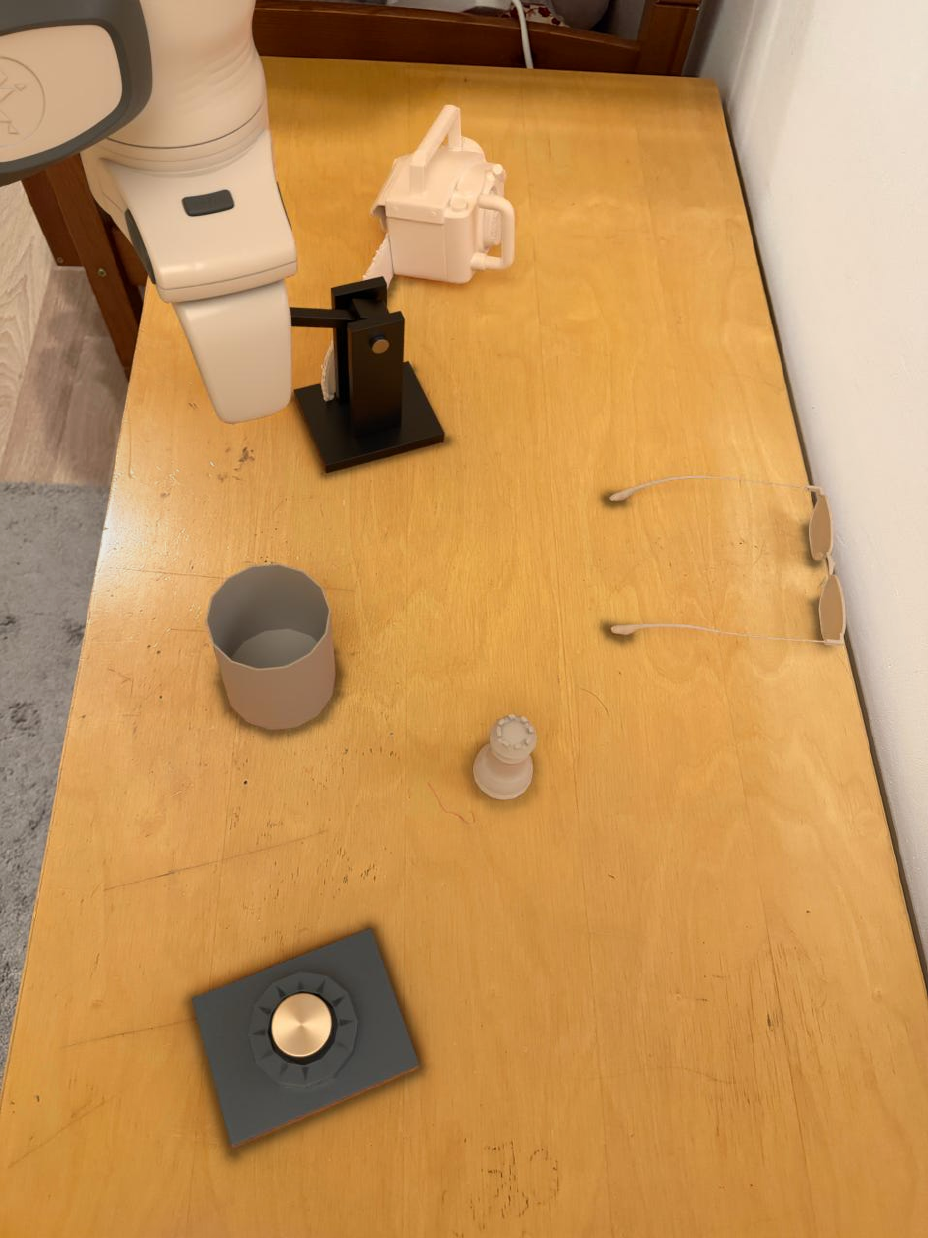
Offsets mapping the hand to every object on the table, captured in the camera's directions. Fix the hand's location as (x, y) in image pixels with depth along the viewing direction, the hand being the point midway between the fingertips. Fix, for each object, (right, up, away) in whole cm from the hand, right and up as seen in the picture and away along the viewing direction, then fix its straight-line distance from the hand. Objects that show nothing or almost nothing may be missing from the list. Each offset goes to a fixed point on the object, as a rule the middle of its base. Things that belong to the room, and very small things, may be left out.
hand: (214, 355), depth 60 cm
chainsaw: (+12, +16, +39) cm, 44 cm away
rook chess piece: (+18, -27, +16) cm, 36 cm away
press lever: (+1, +7, +18) cm, 19 cm away
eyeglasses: (+36, -12, +26) cm, 46 cm away
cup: (+1, -20, +18) cm, 27 cm away
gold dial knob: (+5, -41, +2) cm, 41 cm away
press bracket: (+6, +2, +31) cm, 32 cm away
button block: (+5, -43, +6) cm, 43 cm away
